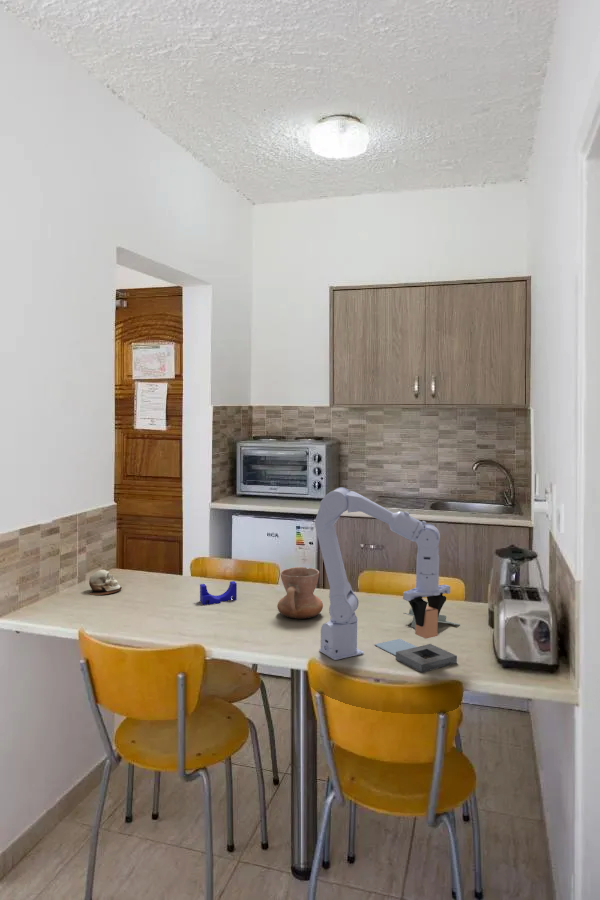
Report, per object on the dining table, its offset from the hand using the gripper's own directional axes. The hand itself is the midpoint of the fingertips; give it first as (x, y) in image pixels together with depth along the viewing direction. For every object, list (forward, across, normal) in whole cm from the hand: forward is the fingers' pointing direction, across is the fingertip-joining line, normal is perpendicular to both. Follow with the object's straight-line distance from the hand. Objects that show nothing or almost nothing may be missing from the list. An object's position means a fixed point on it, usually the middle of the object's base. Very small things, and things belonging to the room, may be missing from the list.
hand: (426, 623), depth 170 cm
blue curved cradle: (+10, -25, +76) cm, 80 cm away
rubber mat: (+10, 0, +11) cm, 15 cm away
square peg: (+3, 0, 0) cm, 3 cm away
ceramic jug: (+10, -9, +49) cm, 51 cm away
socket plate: (+10, 0, 0) cm, 10 cm away
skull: (+10, -55, +108) cm, 121 cm away
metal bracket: (+11, +21, +22) cm, 32 cm away
